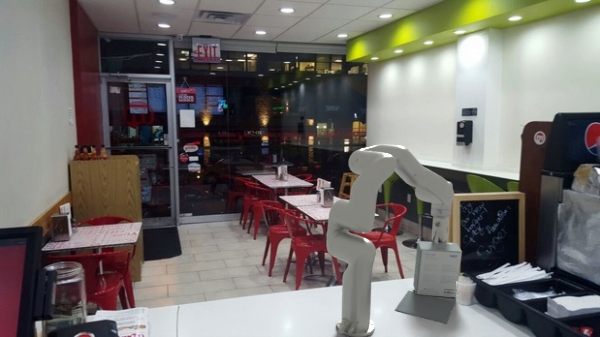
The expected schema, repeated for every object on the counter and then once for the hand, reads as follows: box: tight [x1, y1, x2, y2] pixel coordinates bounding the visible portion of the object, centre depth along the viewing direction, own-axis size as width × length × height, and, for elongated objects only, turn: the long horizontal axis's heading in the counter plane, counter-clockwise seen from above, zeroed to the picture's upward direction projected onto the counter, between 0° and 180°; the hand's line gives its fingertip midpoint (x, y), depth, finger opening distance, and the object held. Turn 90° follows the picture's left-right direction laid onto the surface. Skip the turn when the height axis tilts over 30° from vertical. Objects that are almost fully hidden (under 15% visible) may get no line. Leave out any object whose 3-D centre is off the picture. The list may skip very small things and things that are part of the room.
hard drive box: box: [412, 240, 463, 298], centre depth 158 cm, size 16×8×20 cm, turn 84°
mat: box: [394, 290, 456, 325], centre depth 150 cm, size 18×18×1 cm
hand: (438, 255), depth 164 cm, fingers closed
